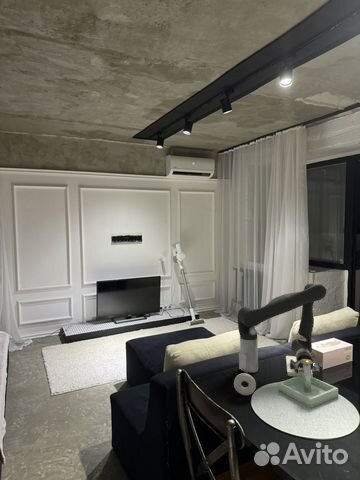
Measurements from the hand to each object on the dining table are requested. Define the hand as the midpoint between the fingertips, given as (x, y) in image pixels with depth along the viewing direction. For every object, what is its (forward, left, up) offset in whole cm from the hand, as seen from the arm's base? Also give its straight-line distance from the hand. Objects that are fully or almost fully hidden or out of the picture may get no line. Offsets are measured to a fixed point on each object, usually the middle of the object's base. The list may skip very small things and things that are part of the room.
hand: (307, 372), depth 148 cm
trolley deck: (+18, +21, -10) cm, 30 cm away
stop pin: (+1, 0, -9) cm, 9 cm away
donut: (-24, +14, -10) cm, 30 cm away
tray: (+1, 0, -10) cm, 10 cm away
